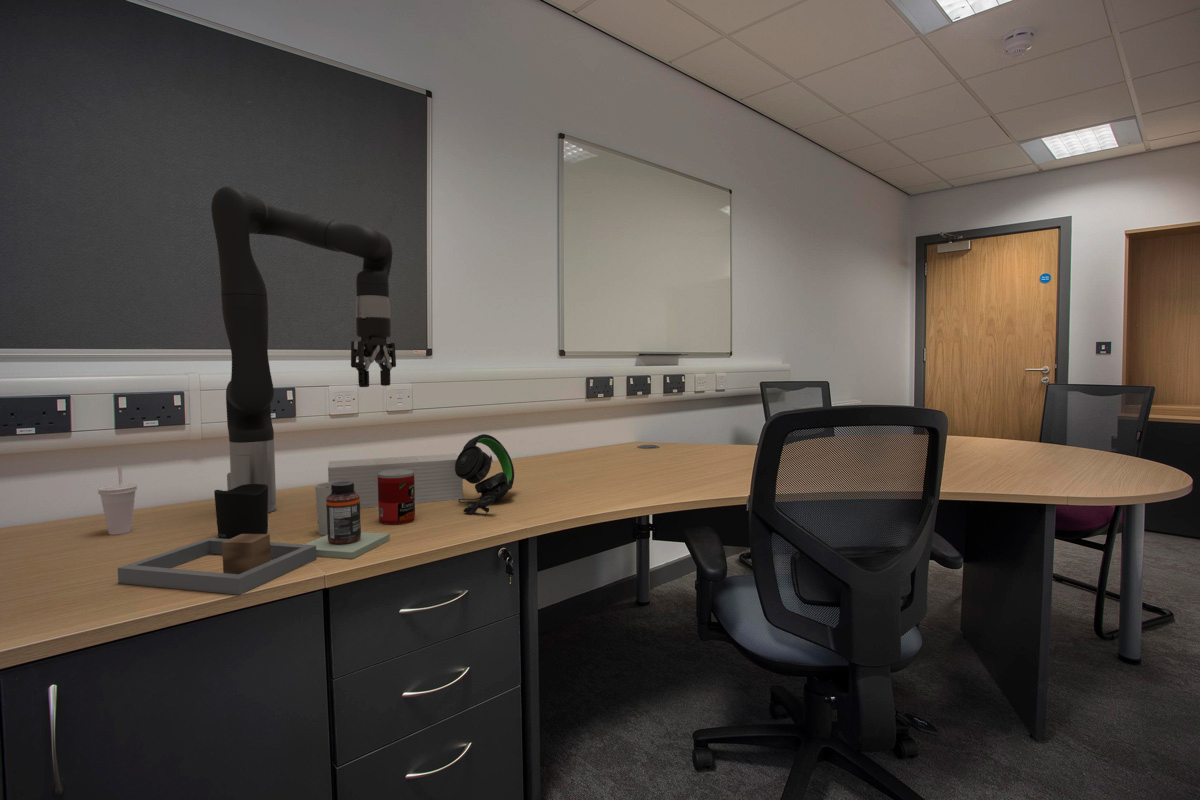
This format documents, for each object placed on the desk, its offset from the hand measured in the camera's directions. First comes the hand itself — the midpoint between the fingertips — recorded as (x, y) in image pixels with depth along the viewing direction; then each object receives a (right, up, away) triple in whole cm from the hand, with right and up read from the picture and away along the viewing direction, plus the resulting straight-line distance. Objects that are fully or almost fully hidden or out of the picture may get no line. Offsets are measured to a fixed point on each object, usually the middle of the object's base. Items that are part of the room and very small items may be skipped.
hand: (375, 386), depth 139 cm
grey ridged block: (0, -30, +15) cm, 34 cm away
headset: (+25, -30, +12) cm, 41 cm away
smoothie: (-49, -31, -14) cm, 59 cm away
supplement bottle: (+3, -31, -25) cm, 39 cm away
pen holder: (-21, -32, -17) cm, 41 cm away
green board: (+3, -32, -25) cm, 40 cm away
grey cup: (-4, -31, -14) cm, 34 cm away
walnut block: (-7, -33, -39) cm, 51 cm away
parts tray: (-12, -32, -38) cm, 51 cm away
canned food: (+7, -31, -5) cm, 32 cm away
